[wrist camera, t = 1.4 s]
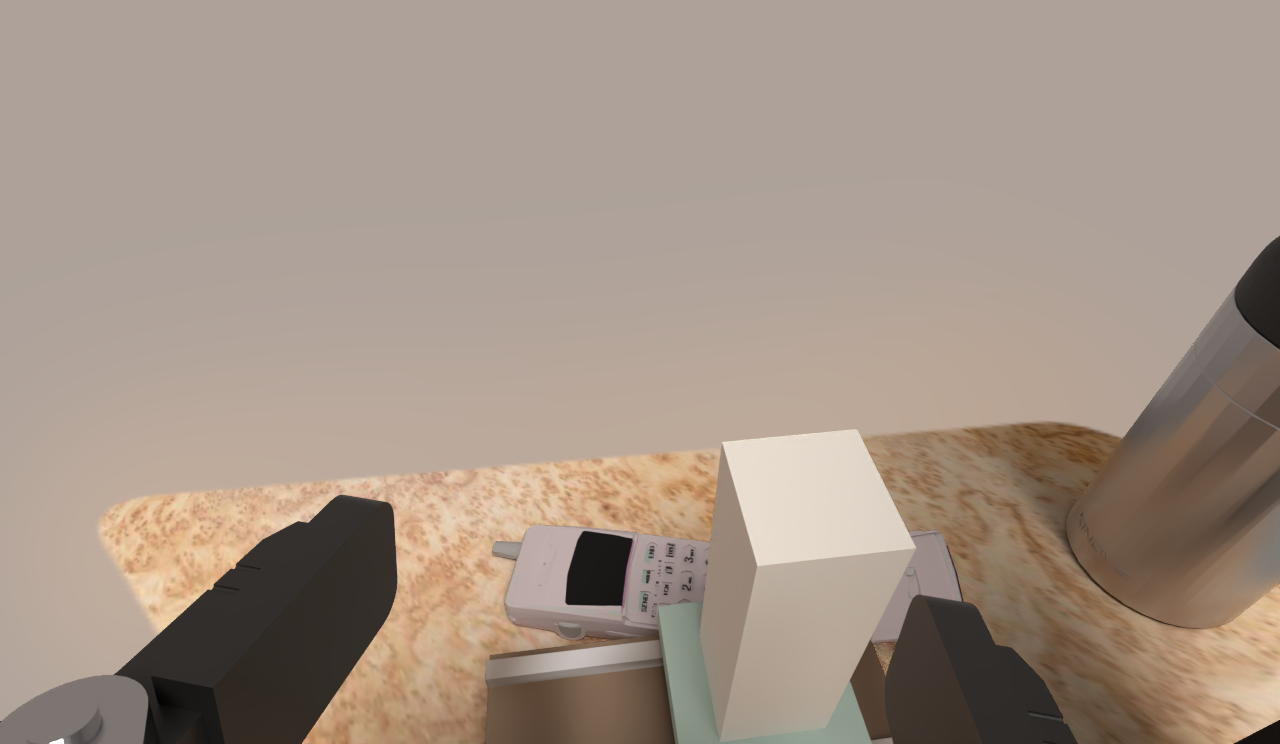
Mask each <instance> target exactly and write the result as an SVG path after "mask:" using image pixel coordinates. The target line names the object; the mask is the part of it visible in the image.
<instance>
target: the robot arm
mask: <svg viewBox="0 0 1280 744" xmlns="http://www.w3.org/2000/svg"><path fill="white" fill-rule="evenodd" d="M1066 529H1067V537H1068V540H1069V543H1070V546H1071V549H1072V551H1073V552H1074V554H1075V556H1076V557H1077V559H1078V561H1079V563H1080V564H1081V565H1082V566H1083V568H1084V569H1085V570H1086V571H1087V572H1088V574H1089V575H1090V576H1091V577H1092V578H1093V579H1094V580H1095V581H1096V582H1097V583H1098V584H1099V585H1100V586H1101V587H1103V588H1104V589H1105V590H1106V591H1107V592H1108V593H1110V594H1111V595H1113V596H1114V597H1115V598H1117V599H1118V600H1120V601H1121V602H1122V603H1124V604H1125V605H1127V606H1129V607H1131V608H1133V609H1135V610H1136V611H1138V612H1140V613H1142V614H1144V615H1146V616H1149V617H1151V618H1154V619H1156V620H1159V621H1161V622H1164V623H1168V624H1172V625H1176V626H1180V627H1185V628H1199V629H1205V628H1212V627H1219V626H1221V625H1224V624H1226V623H1228V622H1230V621H1232V620H1233V619H1235V618H1236V617H1237V616H1239V615H1240V614H1241V613H1242V612H1244V611H1245V610H1246V609H1247V608H1249V607H1250V606H1251V605H1252V604H1254V603H1255V602H1256V601H1258V600H1259V599H1260V598H1261V597H1263V596H1264V595H1265V594H1266V593H1268V592H1269V591H1270V590H1272V589H1273V588H1274V587H1275V586H1277V585H1278V584H1280V236H1279V237H1278V238H1276V239H1275V240H1273V241H1272V242H1271V243H1270V244H1269V245H1268V246H1267V247H1266V248H1265V249H1264V250H1263V251H1262V252H1261V253H1260V255H1259V256H1258V257H1257V258H1256V259H1255V261H1254V262H1253V263H1252V265H1251V266H1250V267H1249V269H1248V270H1247V271H1246V273H1245V274H1244V276H1243V277H1242V278H1241V280H1240V281H1239V282H1238V284H1237V286H1235V288H1234V289H1233V290H1232V292H1231V293H1230V294H1229V296H1228V297H1227V298H1226V300H1225V301H1224V303H1223V304H1222V305H1221V306H1220V308H1219V309H1218V310H1217V312H1216V313H1215V315H1214V316H1213V317H1212V319H1211V320H1210V321H1209V323H1208V324H1207V325H1206V327H1205V328H1204V330H1203V331H1202V332H1201V333H1200V335H1199V337H1198V338H1197V339H1196V341H1195V342H1194V343H1193V345H1192V346H1191V347H1190V349H1189V350H1188V352H1187V353H1186V354H1185V356H1184V357H1183V358H1182V360H1181V361H1180V362H1179V364H1178V365H1177V366H1176V368H1175V369H1174V371H1173V372H1172V373H1171V375H1170V376H1169V377H1168V379H1167V380H1166V381H1165V383H1164V384H1163V385H1162V387H1161V388H1160V389H1159V391H1158V392H1157V393H1156V395H1155V396H1154V397H1153V399H1152V400H1151V402H1150V403H1149V404H1148V406H1147V407H1146V408H1145V410H1144V411H1143V412H1142V414H1141V415H1140V416H1139V418H1138V419H1137V421H1136V422H1135V423H1134V425H1133V426H1132V427H1131V429H1130V430H1129V431H1128V433H1127V434H1126V435H1125V437H1124V438H1123V439H1122V441H1121V442H1120V443H1119V445H1118V446H1117V447H1116V449H1115V450H1114V451H1113V453H1112V454H1111V456H1110V457H1109V458H1108V460H1107V461H1106V462H1105V464H1104V465H1103V466H1102V468H1101V469H1100V470H1099V471H1098V473H1097V474H1096V476H1095V477H1094V478H1093V480H1092V481H1091V483H1090V484H1089V485H1088V487H1087V488H1086V489H1085V491H1084V492H1083V494H1082V495H1081V496H1080V498H1079V499H1078V500H1077V502H1076V503H1075V505H1074V506H1073V507H1072V509H1071V510H1070V512H1069V514H1068V518H1067V521H1066ZM396 589H397V564H396V546H395V528H394V513H393V509H392V506H391V505H390V504H389V503H387V502H382V501H376V500H371V499H365V498H359V497H353V496H347V495H339V496H337V497H335V498H334V499H333V500H331V501H330V502H329V503H328V504H327V505H326V506H325V507H324V508H323V509H322V510H321V511H320V512H319V513H318V514H317V515H316V516H315V517H314V518H313V519H312V520H311V521H310V522H309V523H305V522H300V521H298V522H296V523H294V524H292V525H290V526H288V527H286V528H284V529H282V530H280V531H278V532H276V533H275V534H273V535H271V536H269V537H267V538H265V539H263V540H262V541H261V542H260V543H259V544H257V545H256V546H255V547H254V548H253V549H252V550H251V551H250V552H249V553H248V554H246V555H245V556H244V557H243V558H242V559H241V560H240V561H239V562H238V563H237V564H236V567H235V569H230V570H229V571H228V572H227V573H226V574H225V575H223V576H222V577H221V578H220V579H219V580H218V581H217V582H216V583H215V584H214V587H213V589H212V590H207V591H206V592H205V593H204V594H203V595H201V596H200V597H199V598H198V599H197V600H196V601H195V602H194V603H193V604H192V605H190V606H189V607H188V608H187V609H186V610H185V611H184V612H183V613H182V614H181V615H180V616H178V617H177V618H176V619H175V620H174V621H173V622H172V623H171V624H170V625H169V626H167V627H166V628H165V629H164V630H163V631H162V632H161V633H160V634H159V635H158V636H156V637H155V638H154V639H153V640H152V641H151V642H150V643H149V644H148V645H147V646H146V647H144V648H143V649H142V650H141V651H140V652H139V653H138V654H137V655H136V656H134V658H132V659H131V660H130V661H129V662H128V663H127V664H126V665H125V666H124V667H122V669H120V670H119V671H118V672H117V673H115V674H114V675H103V676H94V677H88V678H83V679H79V680H76V681H72V682H69V683H66V684H63V685H61V686H58V687H56V688H53V689H51V690H49V691H47V692H45V693H43V694H41V695H39V696H37V697H35V698H33V699H32V700H30V701H28V702H27V703H25V704H23V705H22V706H21V707H19V708H17V709H16V710H15V711H13V712H12V713H11V714H9V715H8V716H7V717H6V718H5V719H4V720H2V721H0V744H302V742H303V741H304V739H305V738H306V736H307V735H308V733H309V732H310V731H311V729H312V728H313V726H314V725H315V723H316V722H317V720H318V719H319V717H320V716H321V714H322V713H323V711H324V710H325V709H326V707H327V706H328V704H329V703H330V701H331V700H332V698H333V697H334V695H335V694H336V692H337V691H338V690H339V688H340V687H341V685H342V684H343V682H344V681H345V679H346V678H347V676H348V675H349V673H350V672H351V671H352V669H353V668H354V666H355V665H356V663H357V662H358V660H359V659H360V657H361V656H362V654H363V653H364V651H365V650H366V649H367V647H368V646H369V644H370V643H371V641H372V640H373V638H374V637H375V635H376V634H377V632H378V631H379V630H380V628H381V627H382V625H383V624H384V622H385V620H386V619H387V617H388V615H389V613H390V610H391V608H392V605H393V602H394V599H395V594H396ZM885 710H886V716H887V721H888V725H889V729H890V733H891V737H892V741H893V744H1078V743H1077V741H1076V740H1075V738H1074V736H1073V734H1072V732H1071V730H1070V729H1069V727H1068V725H1067V724H1064V723H1063V716H1062V714H1061V712H1060V710H1059V708H1058V706H1057V705H1056V703H1055V701H1054V699H1053V697H1052V695H1051V694H1050V692H1049V690H1048V688H1047V686H1046V684H1045V682H1044V681H1043V680H1042V679H1041V678H1040V677H1039V676H1038V674H1037V673H1036V672H1035V671H1034V670H1033V669H1032V668H1031V667H1030V666H1029V665H1028V664H1027V663H1026V662H1025V661H1024V660H1023V659H1022V658H1021V657H1020V656H1019V655H1018V654H1017V653H1016V652H1015V651H1014V650H1013V649H1012V648H1010V647H1004V646H999V645H995V643H994V641H993V639H992V637H991V635H990V633H989V631H988V629H987V627H986V625H985V623H984V620H983V618H982V616H981V614H980V612H979V611H978V609H977V608H976V607H975V605H973V604H971V603H967V602H961V601H955V600H949V599H943V598H937V597H932V596H926V595H920V594H919V595H916V596H915V597H914V598H913V599H912V601H911V603H910V605H909V608H908V611H907V614H906V617H905V620H904V623H903V626H902V629H901V632H900V635H899V638H898V641H897V644H896V647H895V649H894V652H893V655H892V658H891V661H890V664H889V667H888V671H887V675H886V681H885Z"/></svg>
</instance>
